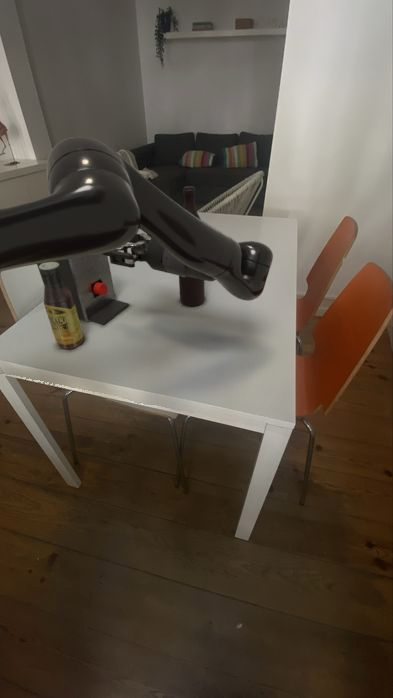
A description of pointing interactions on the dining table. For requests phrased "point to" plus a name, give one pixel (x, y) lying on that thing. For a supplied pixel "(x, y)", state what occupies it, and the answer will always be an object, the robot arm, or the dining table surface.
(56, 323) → the sauce bottle
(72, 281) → the coffee maker
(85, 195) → the robot arm
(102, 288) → the power button
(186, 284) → the wine bottle
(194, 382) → the dining table surface
